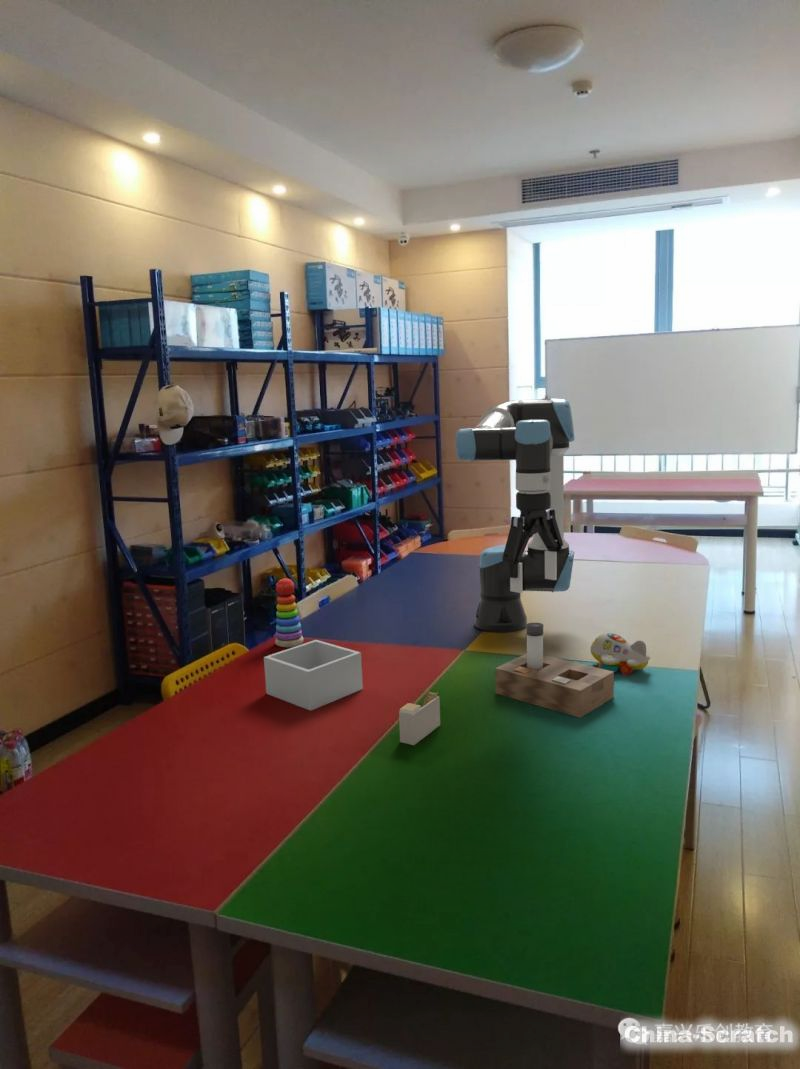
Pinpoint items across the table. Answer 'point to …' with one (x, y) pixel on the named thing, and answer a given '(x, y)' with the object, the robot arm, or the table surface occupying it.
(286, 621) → the stacking toy
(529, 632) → the plug
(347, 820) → the table surface
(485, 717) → the table surface
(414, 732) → the model
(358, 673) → the box
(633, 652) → the toy airplane
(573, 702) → the socket block
